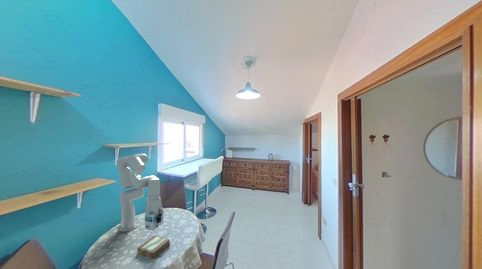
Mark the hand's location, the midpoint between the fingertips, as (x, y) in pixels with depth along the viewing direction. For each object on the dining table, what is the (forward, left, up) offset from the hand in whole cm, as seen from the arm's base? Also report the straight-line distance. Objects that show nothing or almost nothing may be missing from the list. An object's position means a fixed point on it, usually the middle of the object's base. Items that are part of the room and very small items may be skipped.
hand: (154, 221), depth 118 cm
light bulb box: (0, 0, -4) cm, 4 cm away
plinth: (+1, -1, -19) cm, 19 cm away
